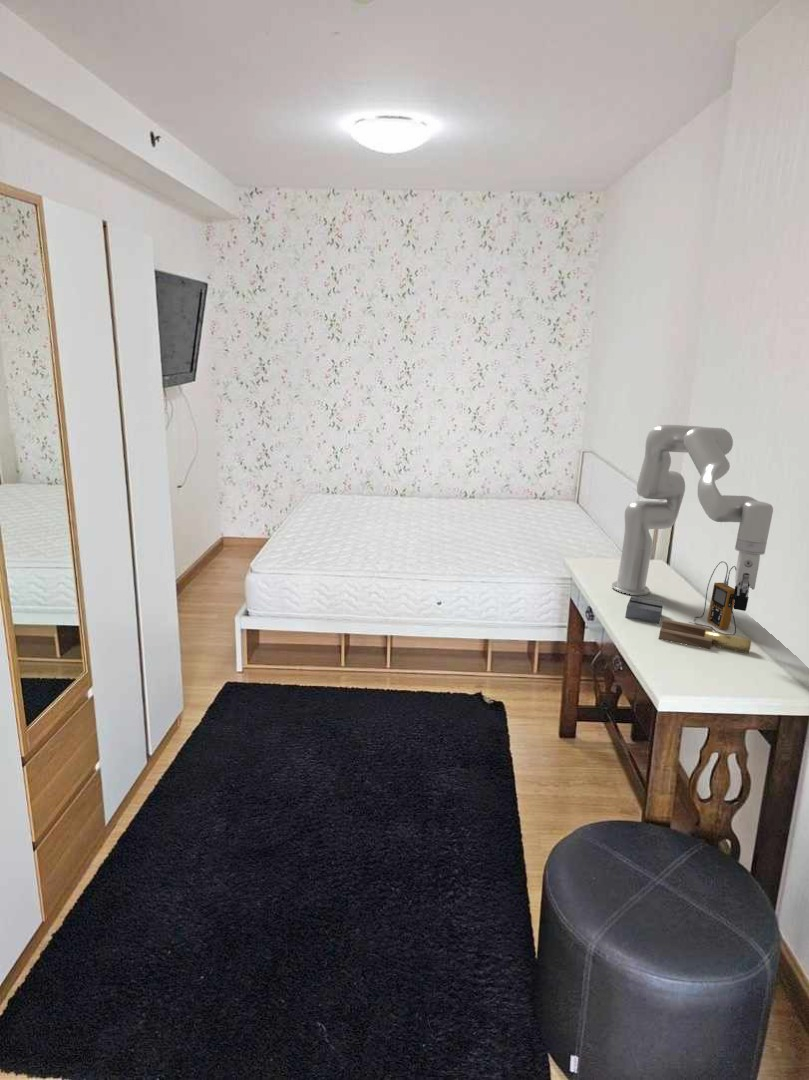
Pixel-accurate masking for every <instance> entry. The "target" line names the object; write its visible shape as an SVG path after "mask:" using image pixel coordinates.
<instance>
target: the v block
mask: <svg viewBox="0 0 809 1080" xmlns="http://www.w3.org/2000/svg"><path fill="white" fill-rule="evenodd" d="M663 608H664V602H663V601H662V602H661V601H656V600H653V599H652V600H651V599H647V598H642V597H635V596H633V595H630V598H629V600H628V603H627V605H626V611H625V619H631V620H636V621H641V622H645V623H651V624H657V625H659V624H660V622H661V617H662V614H663Z"/></svg>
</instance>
